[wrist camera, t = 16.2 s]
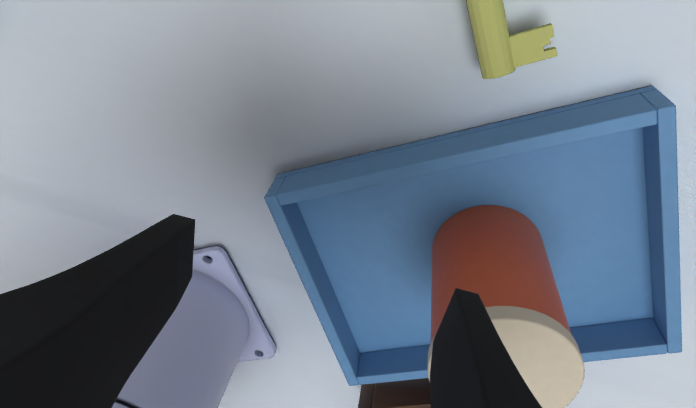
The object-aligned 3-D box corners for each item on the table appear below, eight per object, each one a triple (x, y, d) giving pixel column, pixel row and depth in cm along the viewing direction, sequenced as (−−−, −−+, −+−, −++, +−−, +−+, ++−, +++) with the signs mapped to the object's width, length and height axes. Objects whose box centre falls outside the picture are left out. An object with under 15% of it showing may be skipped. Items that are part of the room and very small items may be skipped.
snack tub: (447, 302, 26) (450, 432, 20) (415, 218, 24) (407, 334, 18) (555, 282, 25) (596, 416, 18) (532, 189, 22) (569, 306, 16)
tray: (354, 354, 30) (348, 386, 28) (277, 173, 24) (263, 197, 22) (663, 317, 25) (682, 352, 23) (653, 84, 20) (676, 105, 18)
